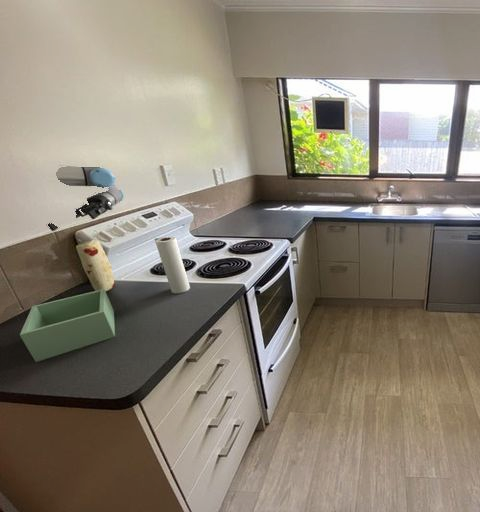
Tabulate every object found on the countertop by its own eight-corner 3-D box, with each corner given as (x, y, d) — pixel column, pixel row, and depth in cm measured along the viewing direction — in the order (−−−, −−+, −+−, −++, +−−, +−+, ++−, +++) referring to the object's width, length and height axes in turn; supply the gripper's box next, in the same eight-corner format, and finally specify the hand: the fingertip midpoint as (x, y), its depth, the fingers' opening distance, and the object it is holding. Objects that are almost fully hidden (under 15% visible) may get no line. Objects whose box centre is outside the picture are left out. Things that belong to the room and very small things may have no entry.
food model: (111, 293, 110) (91, 244, 103) (89, 296, 108) (67, 247, 100) (121, 282, 119) (104, 236, 111) (101, 285, 116) (81, 238, 109)
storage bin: (45, 330, 89) (32, 306, 86) (114, 311, 99) (104, 288, 95) (35, 362, 77) (19, 334, 73) (114, 336, 86) (103, 311, 83)
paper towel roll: (191, 290, 113) (176, 239, 104) (173, 295, 109) (156, 242, 101) (188, 284, 118) (173, 234, 109) (170, 288, 114) (154, 237, 106)
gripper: (136, 202, 127) (114, 219, 110) (74, 220, 123) (41, 241, 106) (124, 186, 123) (99, 202, 106) (60, 204, 119) (23, 223, 102)
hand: (70, 221), depth 106 cm, fingers open, 13 cm apart
